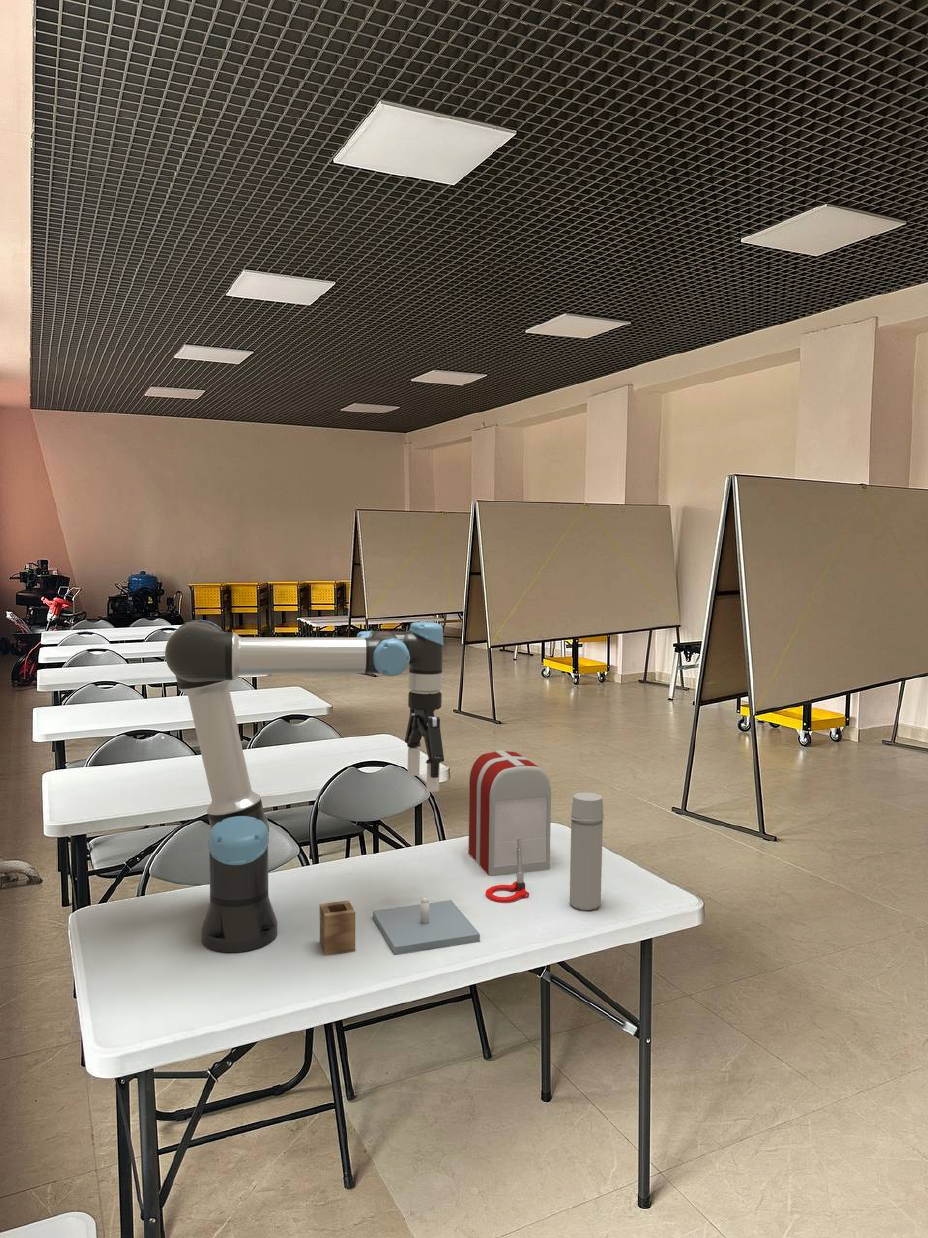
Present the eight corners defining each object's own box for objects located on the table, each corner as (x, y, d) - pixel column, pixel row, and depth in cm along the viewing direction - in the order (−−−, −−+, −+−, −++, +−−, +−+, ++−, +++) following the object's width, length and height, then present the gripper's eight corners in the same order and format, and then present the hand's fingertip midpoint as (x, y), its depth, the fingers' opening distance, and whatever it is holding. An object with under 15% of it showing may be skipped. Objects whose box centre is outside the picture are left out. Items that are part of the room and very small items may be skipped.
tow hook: (494, 907, 197) (531, 899, 200) (492, 851, 195) (529, 844, 199) (480, 893, 205) (516, 886, 208) (478, 839, 203) (514, 833, 207)
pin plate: (394, 954, 173) (394, 921, 172) (372, 917, 190) (372, 886, 189) (479, 941, 179) (480, 908, 178) (451, 906, 196) (451, 876, 195)
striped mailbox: (525, 846, 235) (527, 747, 233) (551, 869, 218) (553, 763, 216) (466, 852, 230) (467, 751, 228) (488, 877, 213) (490, 768, 211)
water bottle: (607, 911, 194) (609, 800, 192) (572, 913, 193) (575, 802, 191) (594, 894, 203) (596, 789, 201) (561, 896, 202) (563, 790, 200)
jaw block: (325, 955, 172) (325, 916, 171) (319, 942, 178) (319, 904, 177) (355, 951, 174) (355, 912, 173) (348, 938, 180) (348, 900, 179)
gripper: (460, 700, 187) (457, 797, 189) (423, 681, 210) (420, 768, 212) (427, 701, 185) (424, 799, 186) (393, 682, 208) (391, 770, 209)
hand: (422, 783), depth 199 cm, fingers open, 13 cm apart
